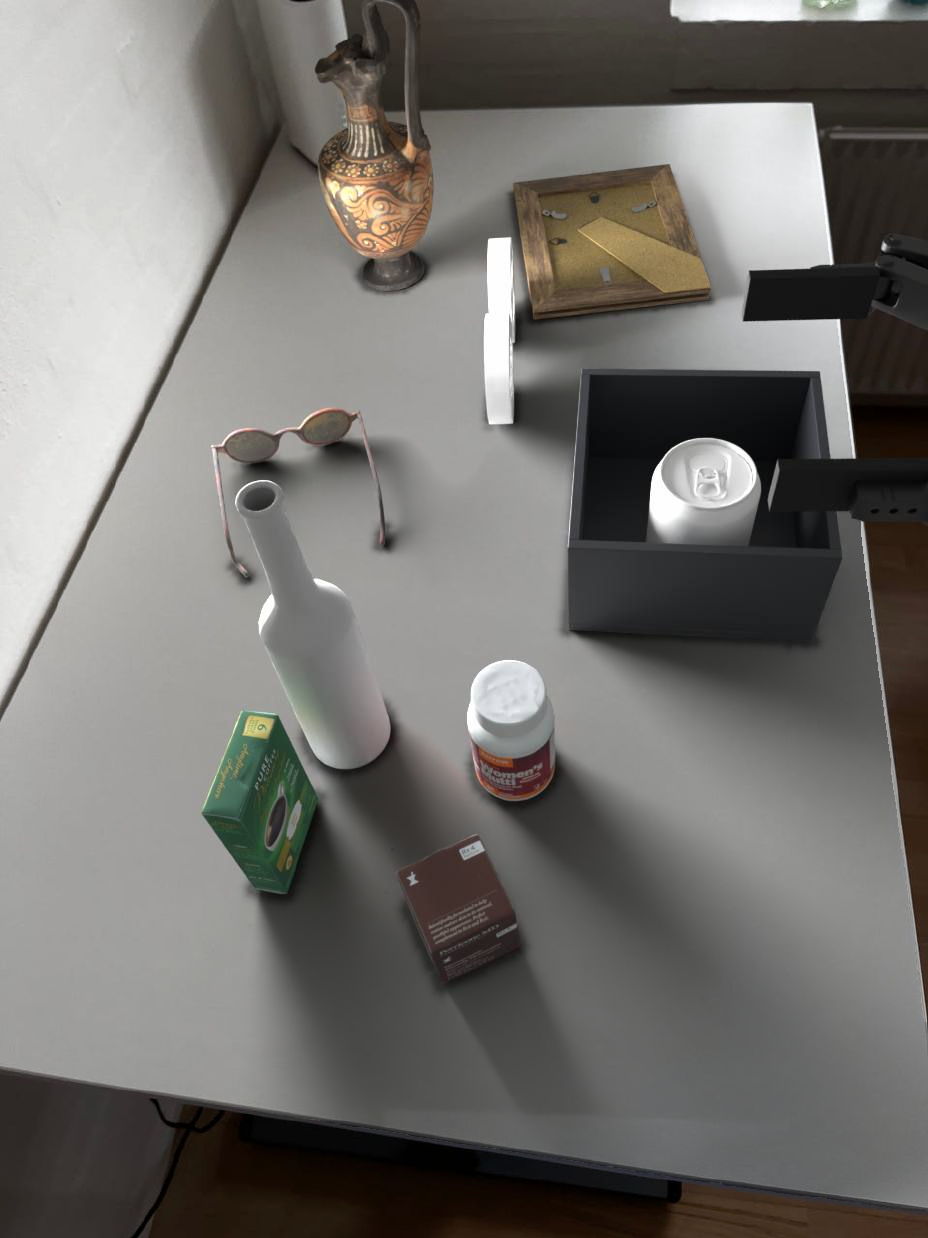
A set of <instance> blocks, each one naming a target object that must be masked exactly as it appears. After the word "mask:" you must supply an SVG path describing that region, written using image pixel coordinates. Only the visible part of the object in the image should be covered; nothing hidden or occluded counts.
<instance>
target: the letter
mask: <svg viewBox="0 0 928 1238" xmlns="http://www.w3.org/2000/svg"><path fill="white" fill-rule="evenodd" d="M514 262H515V261H514V251H513V239H512V237H495V238H494V237H493V238H488V241H487V264H486V265H487V269H486V270H487V271H486V272H487V298H488V299H487V300H488V301H487V303H488V313H485V316H484V326H483V328H484V330H483V362H484V363H483V366H484V367H483V368H484V390H485V405H486V415H487V421H488V424H489V425H510V424H511V425H513V424H514V417H515V371H514V368H515V367H514V344H515V342H516V290H515V289H516V287H515V286H516V285H515V263H514Z"/></svg>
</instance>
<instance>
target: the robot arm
mask: <svg viewBox="0 0 928 1238" xmlns="http://www.w3.org/2000/svg"><path fill="white" fill-rule="evenodd" d="M903 258H904V259H903ZM893 289H894V290H898V291H899V292H897V291H894V290H893ZM876 310H879V311H880V312H883V313H886V314H888V315H890V316H893V317H895V318H897V319H900V320H902V321H904V322H906V323H909V324H911V325H914V326H916V327H917V328H920V329H923V330H925V331H927V332H928V240H926V239H921V238H917V237H912V236H908V235H904V234H899V233H889V234H887V235H884V237H883V239H882V242H881V246H880V248H879V252H878V255H877V258H876V259H875V260H873V261H871V262H866V263H864V262H863V263H839V264H838V263H836V264H835V263H833V264H818V265H813V266H810V268H782V269H779V268H778V269H755V270H754V269H751V270H750V269H749V270H748V273H747V279H746V285H745V291H744V297H743V302H742V308H741V319H742V322H743V323H744V322H746V323H747V322H782V321H783V322H784V321H786V322H787V321H818V320H819V321H822V320H823V321H825V320H828V321H829V320H860V319H861V320H862V319H864V320H865V319H868V318H869V316H871V315H872V313H874V312H875V311H876ZM768 506H769V512H819V511H837V512H849V517H850V519H852V520H856V521H859V522H863V523H865V522H866V523H867V522H869V523H870V522H871V523H872V522H873V523H875V522H878V523H879V522H880V523H883V522H887V523H888V522H889V523H891V522H895V523H897V522H899V523H900V522H906V523H907V522H909V523H910V522H912V523H913V522H918V523H922V524H923V525H925V526H926V527H928V457H863V458H862V457H860V458H859V457H858V458H855V457H853V458H852V457H851V458H831V459H778V460H777V464H776V468H775V472H774V476H773V480H772V484H771V488H770V492H769V496H768Z"/></svg>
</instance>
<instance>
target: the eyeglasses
mask: <svg viewBox="0 0 928 1238" xmlns="http://www.w3.org/2000/svg"><path fill="white" fill-rule="evenodd" d="M355 420H358V424H359V428H360V431H361V435H362V440H363V442H364V443H363V444H364V446H365V449H366V453H367V457H368V458H367V459H368V461H369V466H370V469H371V473H372V476H373V481H374V483H375V488H376V489H375V490H376V495H377V501H378V510H379V523H380V535H379V544H380V546H384V545H385V543H386V542H385V541H386V540H385V539H386V520H385V519H386V518H385V509H384V501H383V495H382V489H381V486H380V480H379V477H378V473H377V470H376V465H375V462H374V458H373V455H372V451H371V450H372V449H371V447H370V444H369V439H368V436H367V435H368V434H367V432H366V428H365V424H364V420H363V417H362V413H361V410H359V409H357V410H355V411H352V412H349V411H346V410H345V409H343V408H339V407H327V408H323V409H319V410H317V411H314V412H313V413H311V414H310V415H307V417H306V418H305V419H304V420H303V421H302V423H301V424H300V425H299V426H297V427H286V428H282V429H280V430H278V431H276V432H275V433H271V432H269V431H267V430H265V429H261V428H256V427H249V428H248V427H246V428H239V429H237V430H234V431H232V432H231V433H229V434H228V435H227V436H226V437H225V439H224V440H223V442H222V443H219V444H217V443H216V444H212V445H211V446H210V447H211V451H212V459H213V464H214V472H215V480H216V487H217V494H218V500H219V507H220V515H221V520H222V527H223V532H224V536H225V541H226V545H227V549H228V552H229V555H230V557H231V561H232V563H233V564H234V566H235V567H236V569H238V571H240V572H241V574H242V575H243V576H244V577H245V578H248V577H249V576H250V573H249V572H248V571H247V570H246V568H244V567H243V564H241V563H240V561H238V558H236V555H235V551H234V546H233V543H232V539H231V538H232V537H231V535H230V530H229V523H228V517H227V510H226V503H225V496H224V488H223V482H222V474H221V467H220V461H219V454H218V453H222V454H225V456H227V457H228V458H229V459H231V460H233V461H235V462H238V463H243V464H256V463H261V462H264V461H266V460H270V459H271V458H272V457H274V455H275V454H276V453H277V452H278V450H279V448H280V442H281V438H282V437H283V436H284V435H285V434H288V433H292V434H294V435H295V436H297V437H298V438H299V439H300V440H301V441H302V443H305V444H308V445H311V446H326V445H330V444H332V443H335V442H337V441H339V440H341V439H342V438H344V437H345V436H346V435H347V434H348V433H349V431H350V430H351V428H352V424H353V422H355Z"/></svg>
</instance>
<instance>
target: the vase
mask: <svg viewBox="0 0 928 1238" xmlns="http://www.w3.org/2000/svg"><path fill="white" fill-rule="evenodd" d="M377 3H386V4H388V5H393V6H395V7H397V8H398V9H399V11H401V12H402V14H403V17H404V21H405V29H406V30H405V52H404V108H405V109H404V111H405V122H406V124H403V123H401V122H395V121H389V120H387V116H386V114H385V109H384V106H383V101H382V96H381V87H382V81H383V77H384V75H386V71H387V59H388V57H389V55H390V54H391V41H390V35H389V34H388V31H387V30H386V29H385V27H384V24H383V21H382V17H381V14H380V11H379V8H378V5H377ZM360 13H361V17H362V21H363V25H364V27H365V32H364V34H363V35H362V34H360V33H354V34H352V35H350V36H349V37H348V38H347V39H343V40H341V41H339V42H338V43H337V44H335V46H334V48H335V50H334V51H333V52H331V53H330V54H329V55H328V56H326V57H321V58H319V59H318V61H317V63H316V65H315V67H314V72H315V74H316V79H317V80H318V82H319V83H320V84H327V83H330V82H331V83H333V84H334V86H336V87H337V89H338V90H339V91H340V93H341V95H342V98H343V100H344V103H345V109H346V116H347V127H346V128H344V129H343V130H341V131H339V132H337V133H336V134H334V135H333V136H331V138H329V139H328V140H327V141H326V143H324V145H323V147H322V148H321V150H320V152H319V154H318V160H317V172H318V179H319V184H320V190H321V192H322V195H323V199H324V201H325V204H326V205H325V206H326V207H327V210H328V212H329V215H330V217H331V219H332V220H333V222H334V224H335V226H336V228H337V230H338V231H339V233H340V234H341V236H342V237H343V238H344V240H345V241H346V243H347V244H348V245H349V246H350V248H352V250H354V251H356V252H357V253H359V254H360V255H362V256H364V257H367V258H370V259H368V261H367V262H366V263H365V264H364V265H363V268H362V275H361V276H362V280H363V282H364V284H365V285H366V286H367V287H368V288H370V289H373V290H375V291H380V292H393V291H399V290H404V289H406V288H409V287H411V286H413V285H415V284H416V283H418V282H419V281H420V280H421V279H422V278H423V276H424V273H425V270H426V269H425V264H424V261H423V260H422V259H421V258H420V257H419V256H418V255H417V254H416V252H413V251H411V250H412V249H414V248H415V247H416V246H417V245H418V244H419V243H420V242H421V239H422V238H423V237H424V235H425V233H426V231H427V229H428V225H429V224H430V219H431V215H432V209H433V203H434V201H433V200H434V190H435V189H434V185H435V183H434V181H435V180H434V169H433V162H432V157H431V153H430V151H431V150H432V146H431V143H430V140H429V136H428V135H427V134H426V133H425V130H424V127H423V123H422V116H421V105H420V101H421V100H420V53H421V52H420V50H421V15H420V10H419V8H418V4H417V2H416V0H362V3H361V8H360Z"/></svg>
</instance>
